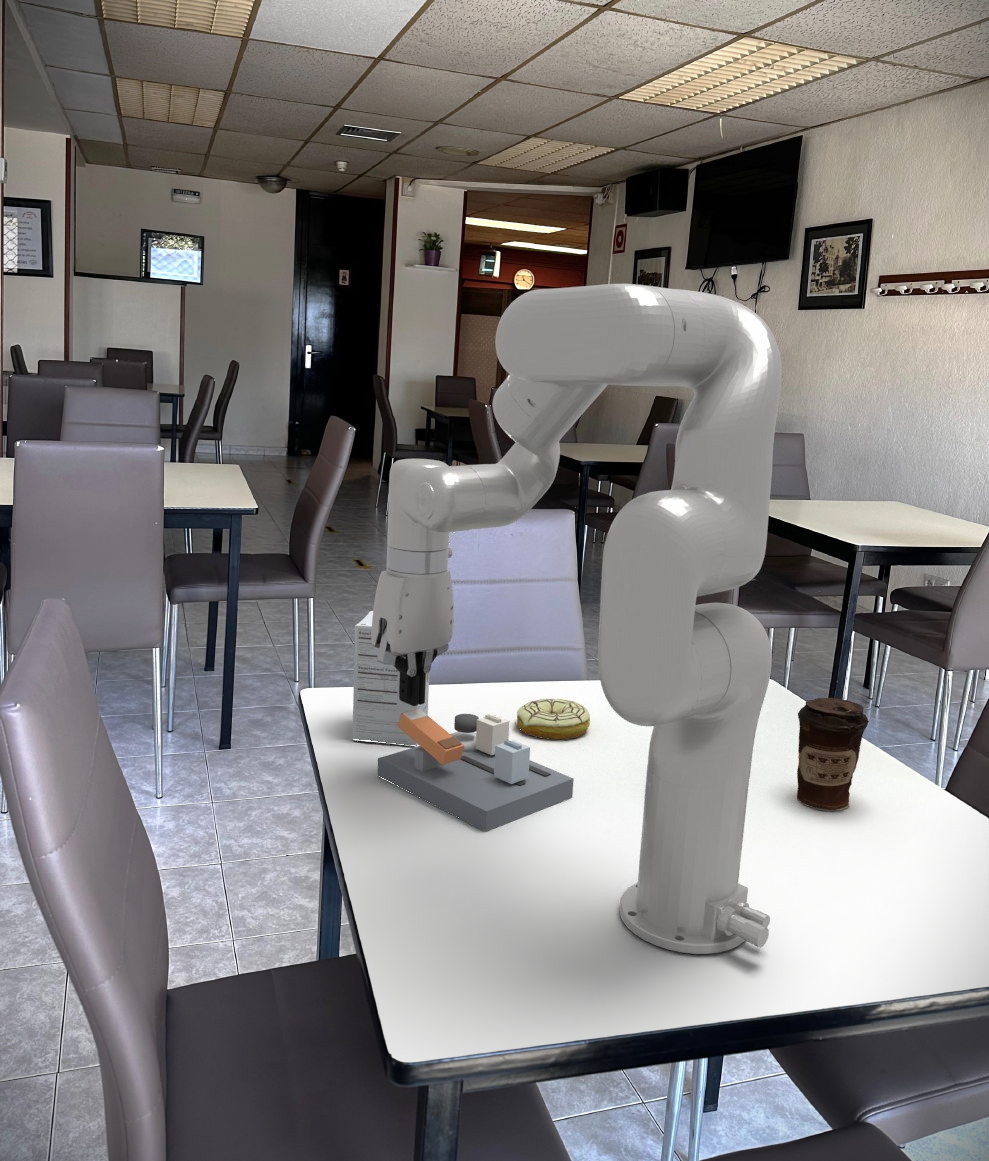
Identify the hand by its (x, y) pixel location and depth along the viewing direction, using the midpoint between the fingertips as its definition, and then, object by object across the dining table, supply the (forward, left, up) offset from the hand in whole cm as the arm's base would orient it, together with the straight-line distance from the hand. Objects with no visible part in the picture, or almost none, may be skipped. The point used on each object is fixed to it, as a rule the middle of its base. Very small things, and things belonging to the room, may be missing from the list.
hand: (411, 701), depth 129 cm
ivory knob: (-5, -9, -7) cm, 13 cm away
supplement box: (+13, -7, -10) cm, 18 cm away
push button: (-1, -8, -5) cm, 10 cm away
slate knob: (-13, -5, -7) cm, 16 cm away
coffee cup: (-39, -35, -10) cm, 54 cm away
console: (-8, -4, -10) cm, 13 cm away
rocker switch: (-4, 0, -3) cm, 5 cm away
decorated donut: (0, -27, -10) cm, 29 cm away
